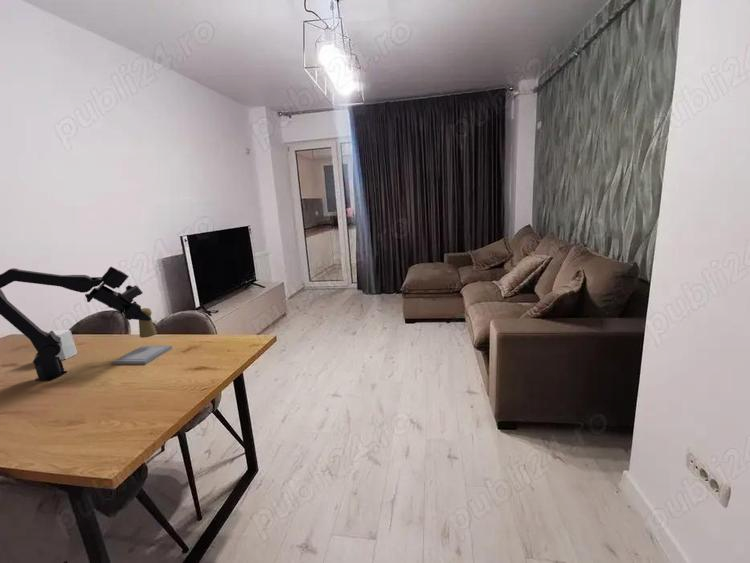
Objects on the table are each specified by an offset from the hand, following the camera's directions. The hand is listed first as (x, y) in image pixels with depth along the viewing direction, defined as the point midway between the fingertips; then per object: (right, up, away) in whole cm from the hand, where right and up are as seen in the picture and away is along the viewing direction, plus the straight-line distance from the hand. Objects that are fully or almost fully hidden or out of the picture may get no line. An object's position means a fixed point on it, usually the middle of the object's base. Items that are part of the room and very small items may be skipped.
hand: (148, 318), depth 148 cm
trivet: (+1, -14, -5) cm, 15 cm away
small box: (-36, -16, +1) cm, 39 cm away
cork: (-1, -7, +1) cm, 7 cm away
